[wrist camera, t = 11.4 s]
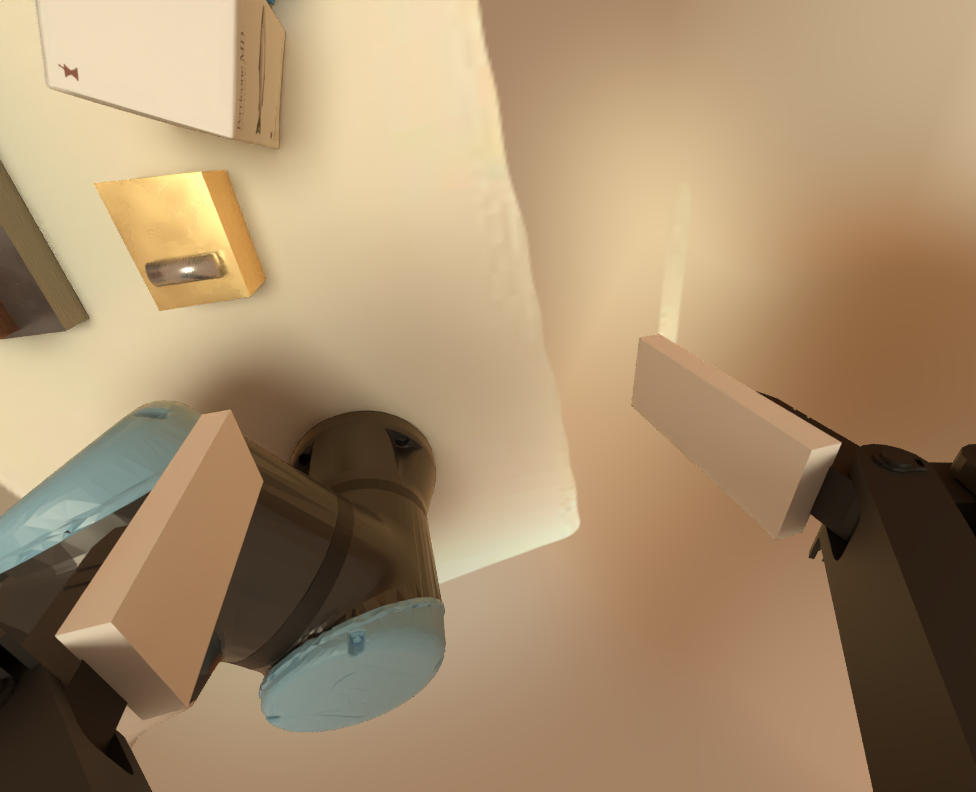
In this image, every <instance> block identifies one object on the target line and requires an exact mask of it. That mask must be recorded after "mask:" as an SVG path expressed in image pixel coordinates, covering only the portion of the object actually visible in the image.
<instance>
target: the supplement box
mask: <svg viewBox="0 0 976 792" xmlns="http://www.w3.org/2000/svg"><path fill="white" fill-rule="evenodd" d="M35 6H36V14H37V21H38V27H39V35H40V42H41V49H42V56H43V63H44V71H45V81H46V85H47V86H48V87H49V88H50V89H53V90H56V91H59V92H63V93H66V94H69V95H73V96H76V97H79V98H83V99H86V100H89V101H92V102H96V103H99V104H102V105H106V106H109V107H112V108H116V109H119V110H122V111H126V112H129V113H133V114H136V115H140V116H144V117H147V118H151V119H154V120H158V121H161V122H165V123H169V124H172V125H176V126H179V127H183V128H187V129H191V130H195V131H199V132H203V133H207V134H211V135H215V136H220V137H224V138H228V139H232V140H237V141H241V142H246V143H250V144H256V145H260V146H265V147H270V148H274V149H278V148H279V116H280V95H281V80H282V65H283V53H284V42H285V30H284V29H283V27H282V25H281V24H280V22H279V20H278V19H277V17H276V16H275V14H274V12H273V11H272V9H271V8H270V6H269V4H268V3H267V1H266V0H35Z"/></svg>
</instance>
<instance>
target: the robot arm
mask: <svg viewBox="0 0 976 792" xmlns="http://www.w3.org/2000/svg"><path fill="white" fill-rule="evenodd" d="M631 405H632V407H633V408H634V409H635V410H637V411H638V412H639V413H640V414H641V415H642V416H643V417H644V418H645V419H646V420H647V421H648V422H650V423H651V424H652V425H653V426H654V427H655V428H656V429H657V430H658V431H659V432H660V433H661V434H662V435H663V436H665V437H666V438H667V439H668V440H669V441H670V442H671V443H672V444H673V445H674V446H675V447H677V448H678V449H679V450H680V451H681V452H682V453H683V454H684V455H685V456H686V457H687V458H688V459H689V460H690V461H691V462H692V463H694V464H695V465H696V466H697V467H698V468H699V469H700V470H701V471H702V472H703V473H704V474H705V475H706V476H708V477H709V478H710V479H711V480H712V481H713V482H714V483H715V484H716V485H717V486H718V487H719V488H721V490H723V491H724V492H725V493H726V494H727V495H728V496H729V497H730V498H731V499H732V500H733V501H734V502H736V503H737V504H738V505H739V506H740V507H741V508H742V509H743V510H744V511H745V512H746V513H747V514H748V515H749V516H751V517H752V518H753V519H754V520H755V521H756V522H757V523H758V524H759V525H760V526H761V527H762V528H763V529H765V530H766V531H767V532H768V533H769V534H770V535H771V536H772V537H773V538H774V539H775V540H778V539H782V538H785V537H789V536H793V535H796V534H799V533H802V532H803V530H804V528H805V526H806V523H807V521H808V519H809V516H810V514H811V515H813V516H814V517H815V518H816V519H818V520H819V521H820V522H821V523H822V525H821V528H820V530H819V532H818V534H817V536H816V539H815V541H814V543H813V545H812V547H811V549H810V552H809V558H812V559H814V558H815V556H816V554H817V552H818V551H820V550H822V554H823V560H822V561H823V562H824V563H825V568H826V573H827V578H828V582H829V586H830V591H831V596H832V601H833V605H834V610H835V615H836V620H837V624H838V629H839V634H840V638H841V643H842V648H843V652H844V657H845V662H846V666H847V671H848V675H849V680H850V685H851V689H852V694H853V699H854V704H855V708H856V713H857V718H858V722H859V727H860V731H861V736H862V741H863V745H864V750H865V755H866V760H867V764H868V769H869V774H870V778H871V783H872V788H873V792H976V444H970V445H967V446H964V447H962V448H961V450H960V452H959V453H958V455H957V456H956V458H955V460H954V461H953V463H935V462H934V463H933V462H932V463H931V462H930V463H929V462H927V461H926V460H924V459H922V458H921V457H919V456H917V455H916V454H913V453H911V452H908V451H905V450H903V449H900V448H896V447H892V446H888V445H879V444H869V445H863V446H861V447H860V446H858V445H857V444H855V443H853V442H851V441H850V440H848V439H846V438H844V437H843V436H841V435H839V434H837V433H835V432H834V431H832V430H831V429H829V428H827V427H825V426H824V425H822V424H820V423H819V422H817V421H815V420H813V419H812V418H807V416H806V415H805V414H803V413H801V412H799V411H798V410H794V409H793V407H791V406H789V405H787V404H786V403H784V402H782V401H780V400H779V399H777V398H774V397H772V396H769V395H766V394H763V393H760V392H757V391H754V390H752V389H750V388H749V387H747V386H745V385H744V384H742V383H740V382H739V381H737V380H735V379H734V378H732V377H730V376H729V375H727V374H725V373H724V372H722V371H720V370H718V369H717V368H715V367H713V366H712V365H710V364H708V363H707V362H705V361H703V360H702V359H700V358H698V357H697V356H695V355H693V354H691V353H690V352H688V351H686V350H685V349H683V348H681V347H680V346H678V345H676V344H675V343H673V342H671V341H670V340H668V339H666V338H665V337H663V336H661V335H660V334H658V335H652V336H647V337H641V338H639V344H638V353H637V362H636V370H635V379H634V388H633V396H632V404H631ZM435 481H436V468H435V463H434V458H433V453H432V450H431V447H430V445H429V443H428V441H427V440H426V438H425V437H424V436H423V434H422V433H421V432H420V431H419V430H418V429H417V428H415V427H414V426H413V425H411V424H410V423H408V422H406V421H405V420H403V419H401V418H398V417H396V416H393V415H390V414H385V413H380V412H372V411H359V412H351V413H345V414H341V415H338V416H335V417H332V418H330V419H327V420H325V421H323V422H321V423H320V424H318V425H317V426H315V427H314V428H312V429H311V430H310V431H309V432H308V433H307V434H306V435H305V436H304V437H303V438H302V439H301V440H300V442H299V443H298V445H297V446H296V448H295V450H294V452H293V455H292V458H291V461H290V465H289V464H288V463H286V462H285V461H283V460H281V459H280V458H278V457H276V456H275V455H273V454H271V453H270V452H268V451H266V450H265V449H263V448H261V447H260V446H258V445H256V444H255V443H253V442H251V441H250V440H248V439H246V438H245V437H243V435H242V433H241V431H240V429H239V426H238V424H237V422H236V420H235V418H234V415H233V413H232V411H231V409H230V410H224V411H219V412H213V413H207V414H202V413H200V412H198V411H196V410H194V409H192V408H190V407H188V406H186V405H184V404H182V403H178V402H174V401H156V402H151V403H148V404H145V405H143V406H141V407H139V408H137V409H136V410H134V411H133V412H131V413H130V414H128V415H127V416H126V417H124V418H123V419H122V420H120V421H119V422H118V423H116V424H115V425H114V426H113V427H111V428H110V429H109V430H107V431H106V432H105V433H103V434H102V435H101V436H100V437H98V438H97V439H96V440H95V441H93V442H92V443H91V444H89V445H88V446H87V447H86V448H84V449H83V450H82V451H81V452H79V453H78V454H77V455H75V456H74V457H73V458H72V459H70V460H69V461H68V462H67V463H65V464H64V465H63V466H62V467H60V468H59V469H58V470H57V471H55V472H54V473H53V474H52V475H50V476H49V477H48V478H47V479H45V480H44V481H43V482H42V483H40V484H39V485H38V486H37V487H35V488H34V489H33V490H32V491H30V492H29V493H28V494H27V495H26V496H24V497H23V498H22V499H21V500H19V501H18V502H17V503H16V504H14V505H13V506H12V507H11V508H9V509H8V510H7V511H6V512H5V513H3V514H2V515H1V516H0V792H152V790H151V789H150V786H149V785H148V782H147V780H146V779H145V776H144V774H143V772H142V770H141V768H140V766H139V764H138V762H137V760H136V759H135V756H134V754H133V753H132V750H131V748H132V746H133V745H134V743H135V742H136V740H137V739H138V737H139V736H140V735H141V734H143V733H144V732H145V731H147V730H148V729H149V728H151V727H152V726H154V725H156V724H158V723H160V722H162V721H164V720H166V719H169V718H171V717H173V716H175V715H177V714H179V713H181V712H183V711H185V710H187V709H188V708H190V707H191V706H192V705H193V704H194V702H195V701H196V699H197V698H198V696H199V694H200V692H201V691H202V689H203V687H204V686H205V684H206V682H207V681H208V679H209V677H210V676H211V674H212V672H213V671H214V669H215V668H216V666H217V665H218V663H219V662H227V663H231V664H235V665H238V666H242V667H245V668H248V669H251V670H255V671H258V672H261V673H262V674H263V675H264V676H265V677H264V679H263V682H262V683H261V685H260V689H259V697H260V699H261V710H262V712H263V713H264V715H265V716H266V719H267V721H268V722H269V723H271V724H272V725H273V726H275V727H277V728H280V729H283V730H287V731H292V732H322V731H328V730H336V729H340V728H344V727H348V726H353V725H356V724H359V723H362V722H364V721H368V720H370V719H373V718H376V717H378V716H381V715H383V714H385V713H387V712H389V711H391V710H393V709H394V708H396V707H398V706H400V705H401V704H403V703H405V702H407V701H408V700H410V699H411V698H412V697H414V696H415V695H416V694H417V693H419V692H420V691H421V690H422V689H423V688H424V687H425V686H426V685H427V684H428V683H429V682H430V681H431V680H432V679H433V677H434V676H435V675H436V673H437V672H438V670H439V668H440V666H441V664H442V661H443V658H444V653H445V645H446V642H445V631H444V619H443V617H444V613H445V608H444V605H443V603H442V601H441V595H440V590H439V584H438V578H437V572H436V567H435V561H434V556H433V550H432V544H431V538H430V532H429V526H428V521H427V512H428V508H429V504H430V501H431V497H432V494H433V490H434V486H435Z"/></svg>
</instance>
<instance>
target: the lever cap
mask: <svg viewBox="0 0 976 792" xmlns="http://www.w3.org/2000/svg"><path fill="white" fill-rule="evenodd" d="M94 185H95V187H96V189H97V191H98V193H99V195H100V196H101V198H102V200H103V202H104V204H105V206H106V208H107V210H108V212H109V214H110V216H111V218H112V220H113V222H114V224H115V226H116V227H117V229H118V231H119V233H120V235H121V237H122V239H123V241H124V243H125V245H126V247H127V249H128V251H129V253H130V255H131V256H132V258H133V260H134V262H135V264H136V266H137V268H138V270H139V272H140V274H141V276H142V278H143V280H144V282H145V284H146V285H147V287H148V289H149V291H150V293H151V295H152V297H153V299H154V301H155V303H156V305H157V307H158V309H159V311H162V310H168V309H175V308H181V307H187V306H194V305H200V304H207V303H213V302H219V301H226V300H232V299H238V298H245V297H250V296H251V295H252V294H253V293H254V292H255V291H256V290H257V288H258V287H259V286H260V285H261V284H262V283H263V282H264V281H265V279H266V278H265V275H264V273H263V270H262V267H261V264H260V262H259V259H258V256H257V254H256V251H255V248H254V245H253V243H252V240H251V237H250V235H249V232H248V229H247V226H246V224H245V221H244V218H243V215H242V213H241V210H240V207H239V205H238V202H237V199H236V196H235V194H234V191H233V188H232V186H231V183H230V180H229V177H228V175H227V172H226V170H221V171H204V172H193V173H184V174H175V175H166V176H157V177H148V178H139V179H130V180H121V181H112V182H102V183H94Z"/></svg>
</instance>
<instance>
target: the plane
mask: <svg viewBox="0 0 976 792" xmlns="http://www.w3.org/2000/svg"><path fill="white" fill-rule="evenodd" d="M88 318H89V317H88V315H87V313H86V311H85V310H84V308H83V306H82V304H81V302H80V301H79V299H78V297H77V295H76V294H75V292H74V290H73V288H72V287H71V285H70V283H69V281H68V280H67V278H66V276H65V274H64V272H63V271H62V269H61V267H60V265H59V264H58V262H57V260H56V258H55V257H54V255H53V253H52V251H51V249H50V248H49V246H48V244H47V242H46V241H45V239H44V237H43V235H42V234H41V232H40V230H39V228H38V227H37V225H36V223H35V221H34V219H33V218H32V216H31V214H30V212H29V211H28V209H27V207H26V205H25V204H24V202H23V200H22V198H21V197H20V195H19V193H18V191H17V189H16V188H15V186H14V184H13V182H12V181H11V179H10V177H9V175H8V174H7V172H6V170H5V168H4V167H3V165H2V163H1V161H0V339H7V338H15V337H23V336H30V335H38V334H46V333H54V332H62V331H67V330H69V329H70V328H72V327H74V326H76V325H78V324H79V323H81V322H83V321H85V320H87V319H88Z"/></svg>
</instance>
